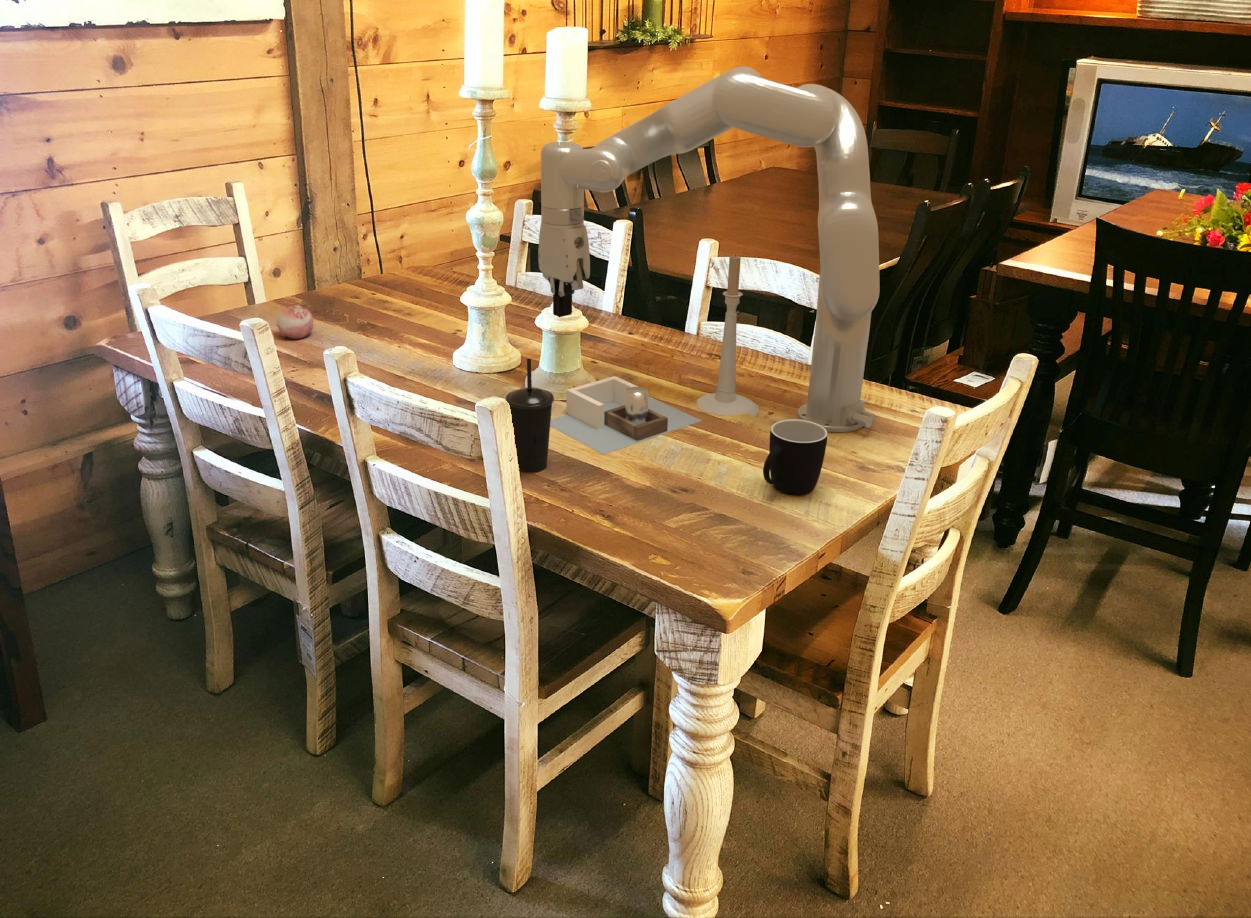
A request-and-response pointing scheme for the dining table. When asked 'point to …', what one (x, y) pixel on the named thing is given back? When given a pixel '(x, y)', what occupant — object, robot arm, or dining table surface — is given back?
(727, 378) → the candlestick
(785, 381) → the dining table surface
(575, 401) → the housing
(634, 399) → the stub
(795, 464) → the mug
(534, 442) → the drinking cup
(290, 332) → the apple
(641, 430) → the socket
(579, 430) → the board
